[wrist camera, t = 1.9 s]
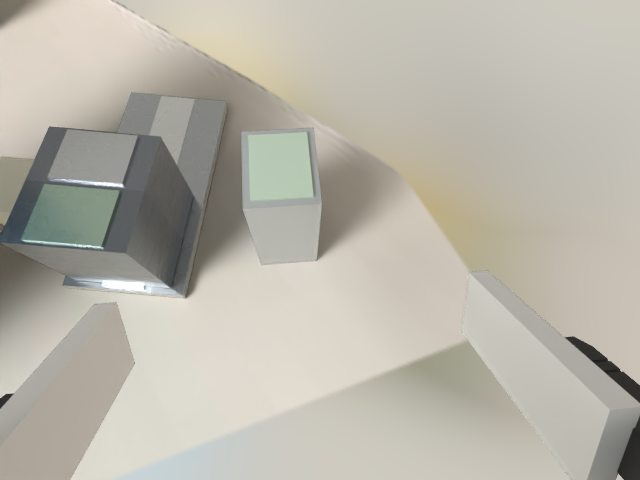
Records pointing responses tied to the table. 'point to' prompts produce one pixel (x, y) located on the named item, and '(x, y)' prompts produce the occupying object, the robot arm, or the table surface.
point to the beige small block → (11, 183)
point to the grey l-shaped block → (122, 198)
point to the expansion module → (281, 194)
